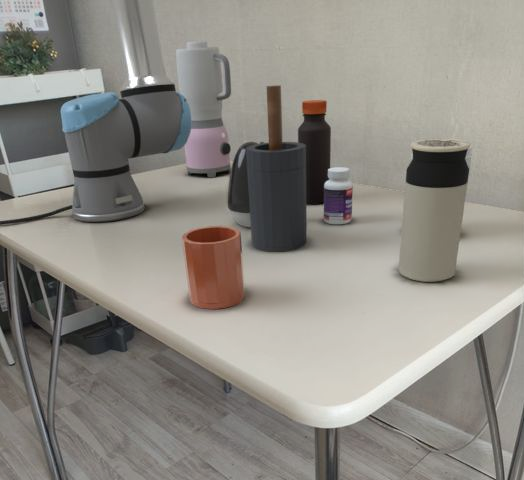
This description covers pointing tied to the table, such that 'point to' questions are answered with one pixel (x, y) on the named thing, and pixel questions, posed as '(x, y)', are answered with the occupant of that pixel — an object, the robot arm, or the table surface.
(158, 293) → the table surface
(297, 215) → the utensil holder
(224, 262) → the pen pot
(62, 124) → the robot arm
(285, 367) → the table surface
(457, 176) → the travel mug
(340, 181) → the pill bottle
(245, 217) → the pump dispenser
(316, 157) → the vinegar
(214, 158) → the blender
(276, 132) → the brush
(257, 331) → the table surface
